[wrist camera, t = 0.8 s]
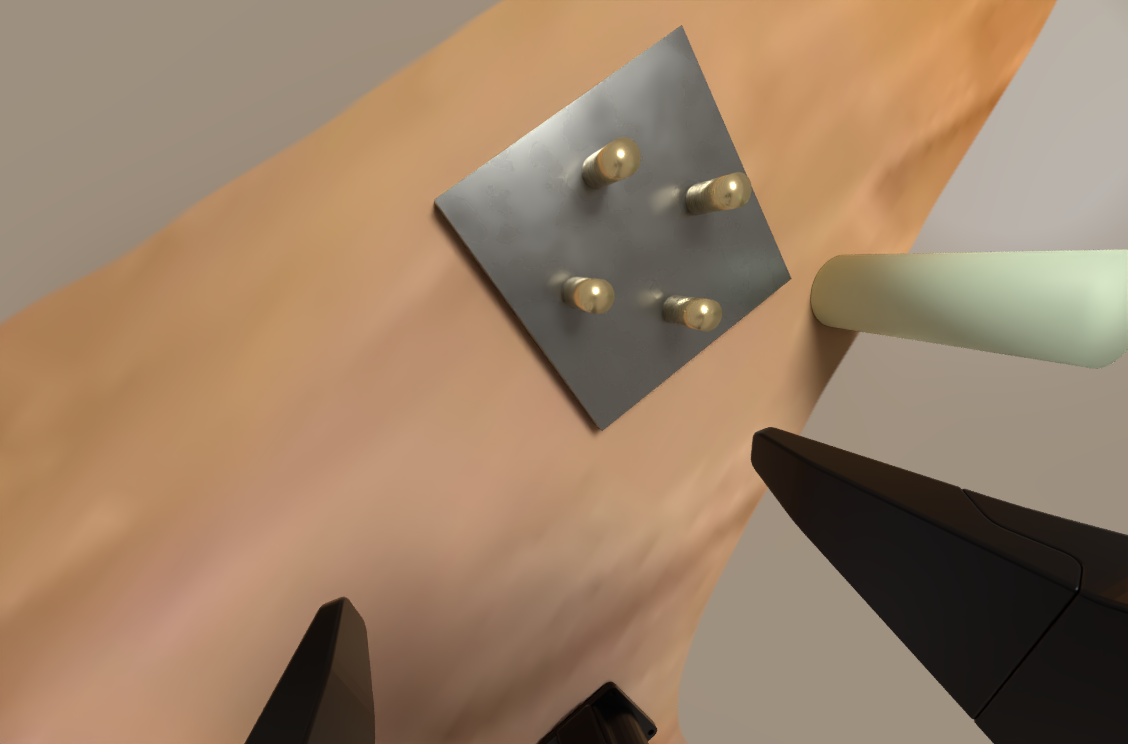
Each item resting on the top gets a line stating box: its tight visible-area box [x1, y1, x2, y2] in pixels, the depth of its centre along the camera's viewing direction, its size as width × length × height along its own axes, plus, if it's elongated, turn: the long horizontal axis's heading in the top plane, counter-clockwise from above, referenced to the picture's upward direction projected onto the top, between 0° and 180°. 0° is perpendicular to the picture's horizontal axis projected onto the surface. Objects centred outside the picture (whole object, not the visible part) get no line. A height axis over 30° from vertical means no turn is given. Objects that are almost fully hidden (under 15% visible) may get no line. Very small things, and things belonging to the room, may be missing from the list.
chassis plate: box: [434, 25, 791, 431], centre depth 21 cm, size 14×14×4 cm
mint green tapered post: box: [811, 250, 1128, 369], centre depth 22 cm, size 4×4×12 cm
